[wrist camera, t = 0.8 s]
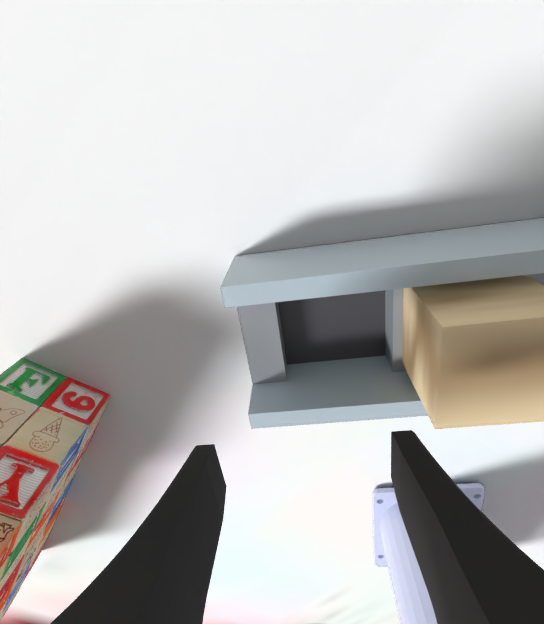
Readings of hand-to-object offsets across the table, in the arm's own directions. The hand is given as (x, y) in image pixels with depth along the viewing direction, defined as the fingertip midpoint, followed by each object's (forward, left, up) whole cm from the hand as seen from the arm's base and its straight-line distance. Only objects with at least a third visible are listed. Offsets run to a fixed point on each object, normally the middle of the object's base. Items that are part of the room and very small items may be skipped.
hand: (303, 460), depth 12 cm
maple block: (0, -8, -8) cm, 12 cm away
